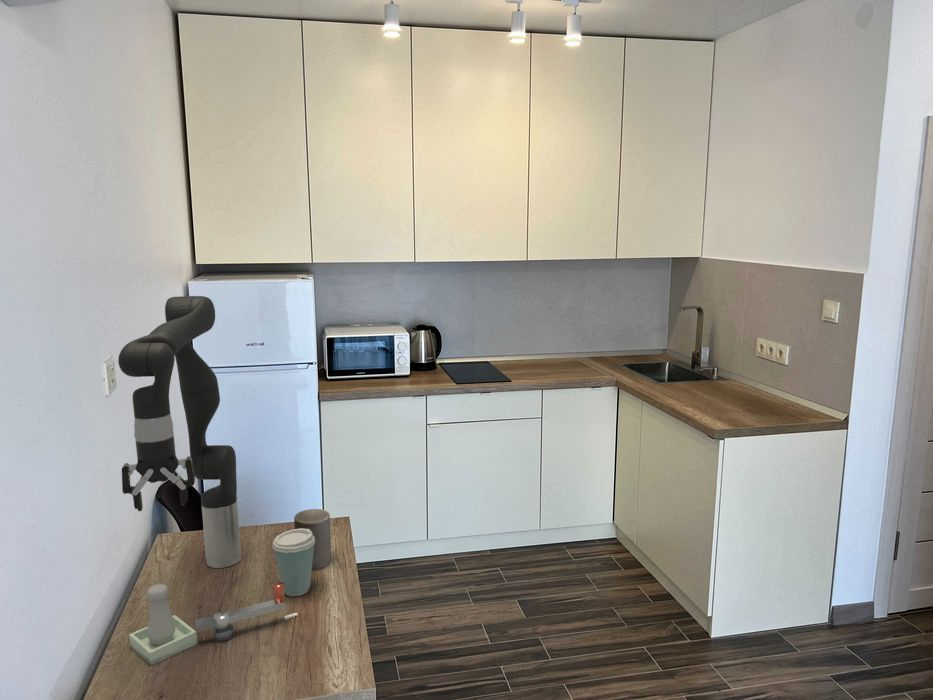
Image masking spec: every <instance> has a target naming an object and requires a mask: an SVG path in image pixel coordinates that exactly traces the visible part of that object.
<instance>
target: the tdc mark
mask: <svg viewBox="0 0 933 700" xmlns="http://www.w3.org/2000/svg"><path fill="white" fill-rule="evenodd" d="M295 616H297V617H298V616H299V615H298V612H294V613H290V614H286V615H285V616H283V617H284V618H283V619H284V620H289V618H290V619H293V618H296V617H295ZM292 617H293V618H292Z"/></svg>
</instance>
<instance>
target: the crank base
mask: <svg viewBox="0 0 933 700" xmlns="http://www.w3.org/2000/svg"><path fill="white" fill-rule="evenodd" d="M234 630H235V629H234V625H233V623H231V628H230V629H228V630H227V631H223V632H217V631H215V629H214V628H212V637H213V641H214V642H216V643H225V642H228V641H230V640H232V639H233V637H234V636H235V633H234Z"/></svg>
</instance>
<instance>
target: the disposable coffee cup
mask: <svg viewBox="0 0 933 700" xmlns="http://www.w3.org/2000/svg"><path fill="white" fill-rule="evenodd" d="M314 544H315V537H314V536H313V534H312V531H310V530H309V529H303V528H300V529H295V528H294V529H290V530H286V531H284V532H282V533H280V534H278V535H277V536H275V538H274V539H273V542H272V549H273V552H274V553H273V554H274V557H275V561H276V566H277V570H278V574H279V579H280V580H279V581H280V582H283V583H284V592H285V595H286V596H290V597H299V596H302V595H305V594H306V593H308V592H309V590H310V588H311V581H312V573H313V570H312V561H313V550H314Z"/></svg>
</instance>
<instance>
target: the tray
mask: <svg viewBox="0 0 933 700" xmlns="http://www.w3.org/2000/svg"><path fill="white" fill-rule="evenodd" d="M172 618H173V621H174V624H175V627H176V628H175V633H174V636H173V639H172V640H171V642H169V643H166V644H164V645H162V646H153V644H152V643H151V641H150V640H149V638H148V636H147V630H148V626H145V627H143V628H141V629H139V630H137V631H134V632H131V633H129V634H128V637H129V645H130V648H131V649H132V650H133V651H134V650H135V651H136V654H137V655H138V656H139V657H141V658H142V659H143V660H144V661H145V662H147V664H148V665H150V666H151V667H152V666H154V665H156V664H158V663H160V662H162V661H164V660H167V659H168V658H171V657H173V656H175V655H177V654H179V653H182V652H184V651H186V650H188V649H190V648H192V647H194V646H196V644H197V645H198V643H199V642H198V635H197V634H198V632H197V630H195V629H193V627H191V626H190V625H189V624H187V623H186V622H184V621H183V620H182V619H181V618H180V617H178V616H177V615H176V614H175V615H172ZM183 650H184V651H183ZM135 651H134V652H135Z"/></svg>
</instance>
